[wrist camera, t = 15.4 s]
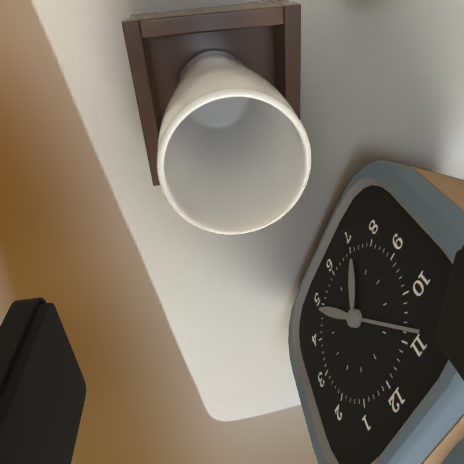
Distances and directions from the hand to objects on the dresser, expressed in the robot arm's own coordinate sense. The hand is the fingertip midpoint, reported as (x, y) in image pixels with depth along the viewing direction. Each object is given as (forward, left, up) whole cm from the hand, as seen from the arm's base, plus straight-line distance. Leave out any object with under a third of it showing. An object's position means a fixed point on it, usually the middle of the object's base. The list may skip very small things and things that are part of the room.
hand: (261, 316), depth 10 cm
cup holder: (0, 0, -25) cm, 25 cm away
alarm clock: (+12, -16, -25) cm, 32 cm away
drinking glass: (0, 0, -24) cm, 24 cm away
